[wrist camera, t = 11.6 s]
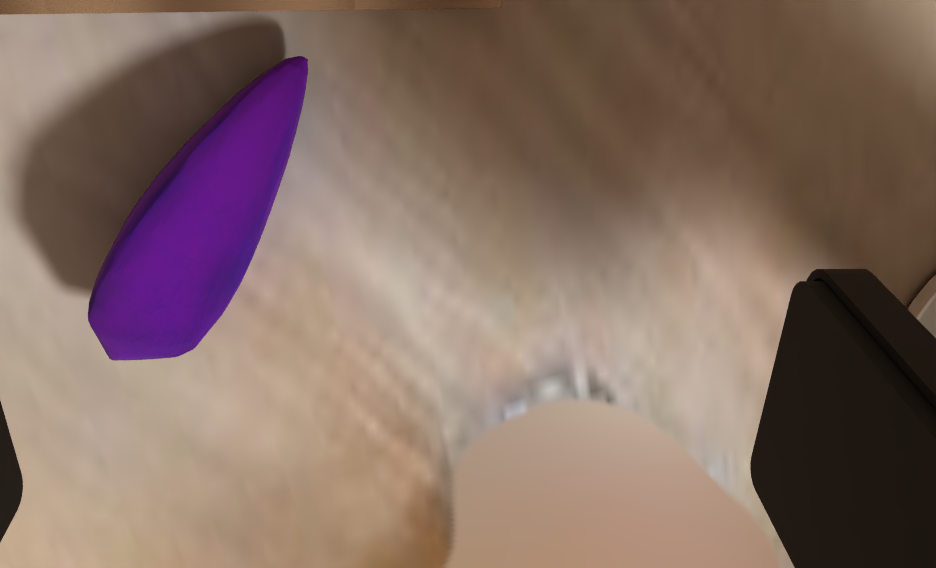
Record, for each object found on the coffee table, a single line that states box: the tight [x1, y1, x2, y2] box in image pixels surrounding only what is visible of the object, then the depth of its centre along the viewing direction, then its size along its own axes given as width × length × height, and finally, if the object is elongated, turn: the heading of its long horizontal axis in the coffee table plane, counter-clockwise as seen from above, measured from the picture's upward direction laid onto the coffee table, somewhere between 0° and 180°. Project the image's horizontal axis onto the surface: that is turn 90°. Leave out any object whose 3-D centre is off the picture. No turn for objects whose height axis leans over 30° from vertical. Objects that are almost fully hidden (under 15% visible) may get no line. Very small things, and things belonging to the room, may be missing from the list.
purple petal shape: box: [88, 56, 308, 360], centre depth 34 cm, size 5×5×15 cm
